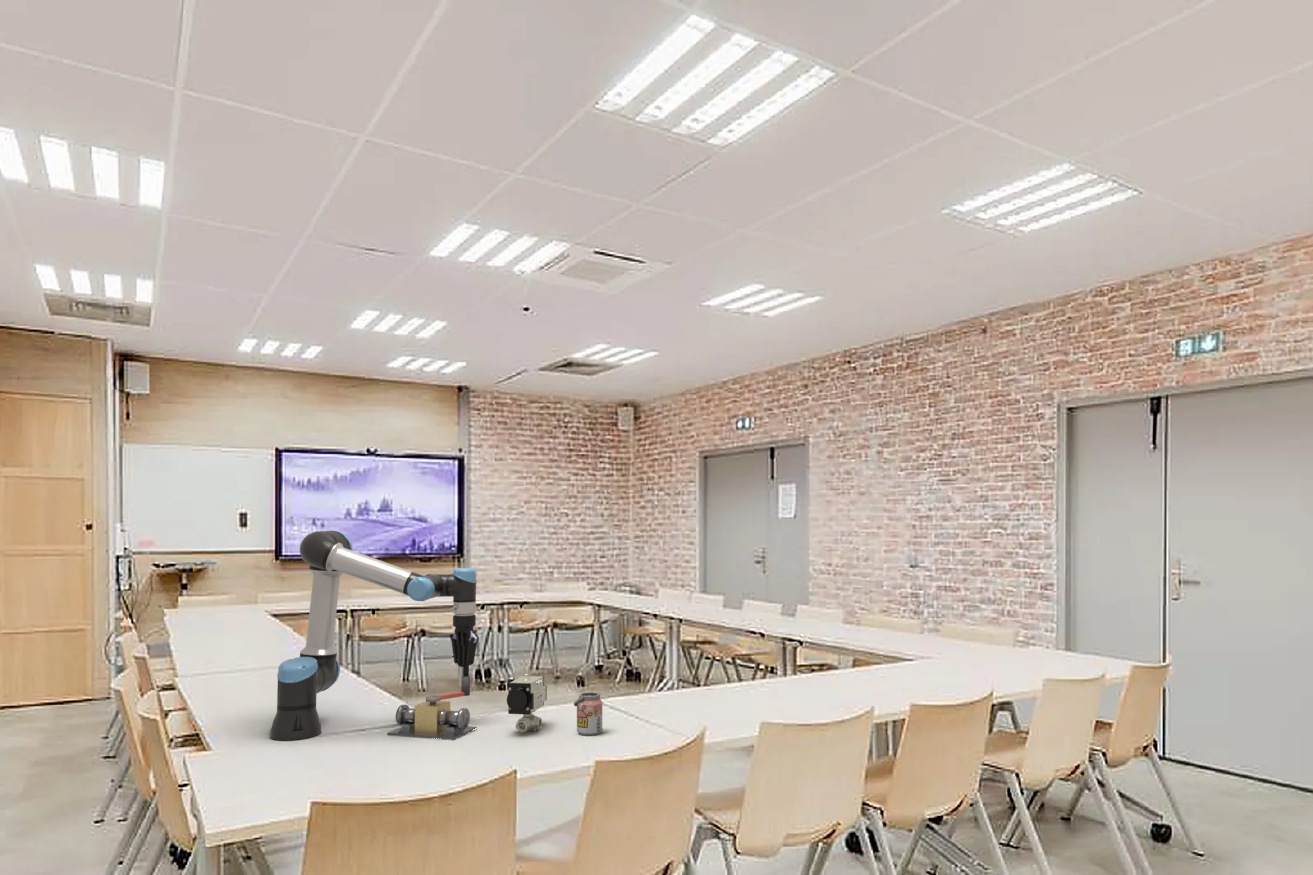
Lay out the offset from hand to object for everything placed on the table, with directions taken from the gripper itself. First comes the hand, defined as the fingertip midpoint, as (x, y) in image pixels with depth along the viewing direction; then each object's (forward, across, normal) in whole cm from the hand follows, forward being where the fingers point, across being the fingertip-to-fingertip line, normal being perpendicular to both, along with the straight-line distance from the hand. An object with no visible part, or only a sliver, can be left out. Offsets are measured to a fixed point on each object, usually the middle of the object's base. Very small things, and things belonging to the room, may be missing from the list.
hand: (463, 685), depth 285 cm
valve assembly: (+13, +1, -13) cm, 18 cm away
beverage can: (+13, +41, +17) cm, 46 cm away
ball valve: (+13, +24, +8) cm, 28 cm away
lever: (+3, +1, -7) cm, 8 cm away
